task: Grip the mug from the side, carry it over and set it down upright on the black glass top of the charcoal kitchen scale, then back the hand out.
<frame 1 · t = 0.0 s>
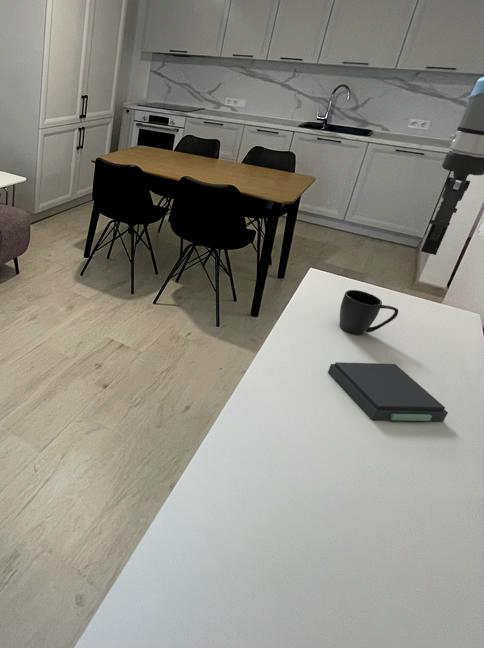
hand: (431, 245, 114), 27 cm above the counter, tool pointing down, fingers open, 13 cm apart
mug: (359, 332, 129), on the counter
scale: (382, 395, 105), on the counter
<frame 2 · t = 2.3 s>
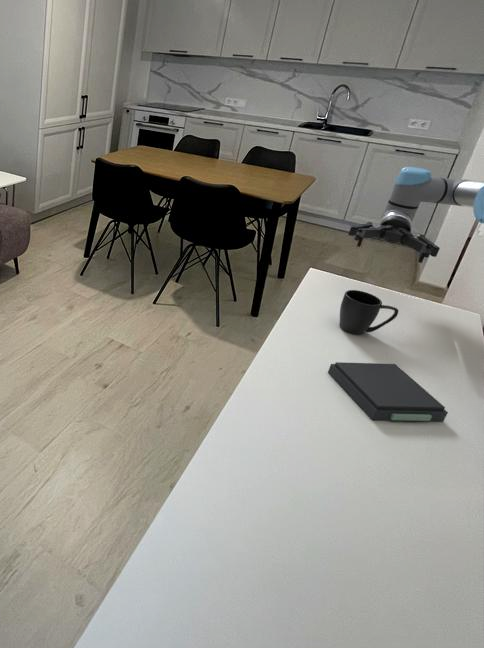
hand: (390, 249, 128), 21 cm above the counter, tool horizontal, fingers open, 13 cm apart
nothing on the counter moved.
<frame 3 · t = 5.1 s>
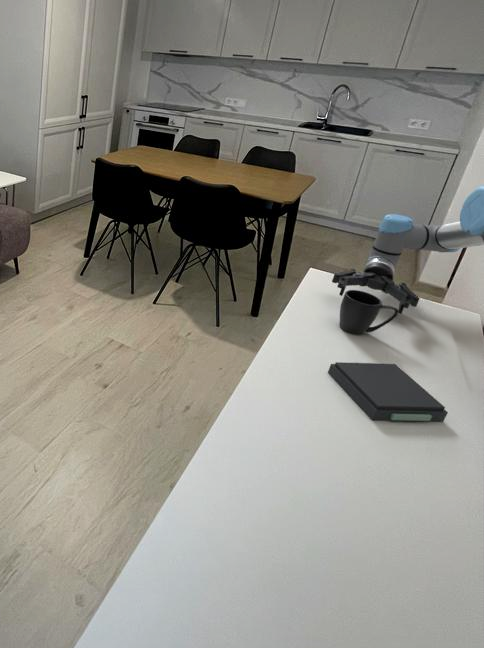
hand: (371, 299, 131), 7 cm above the counter, tool horizontal, fingers open, 13 cm apart
nothing on the counter moved.
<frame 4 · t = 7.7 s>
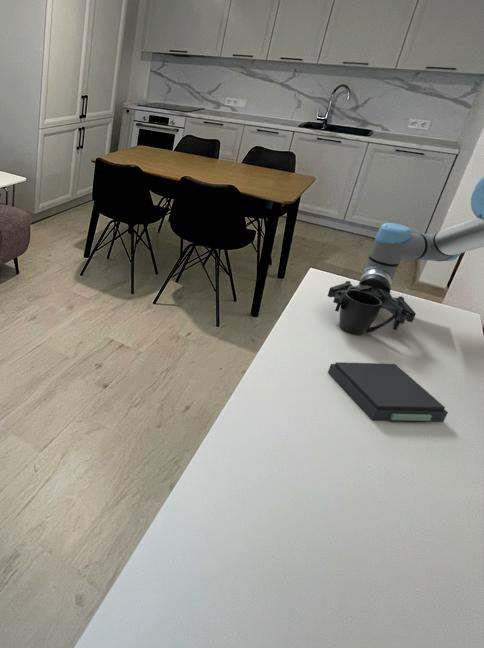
hand: (366, 315, 124), 6 cm above the counter, tool horizontal, fingers closed on mug, 12 cm apart
mug: (359, 332, 129), on the counter, touching gripper
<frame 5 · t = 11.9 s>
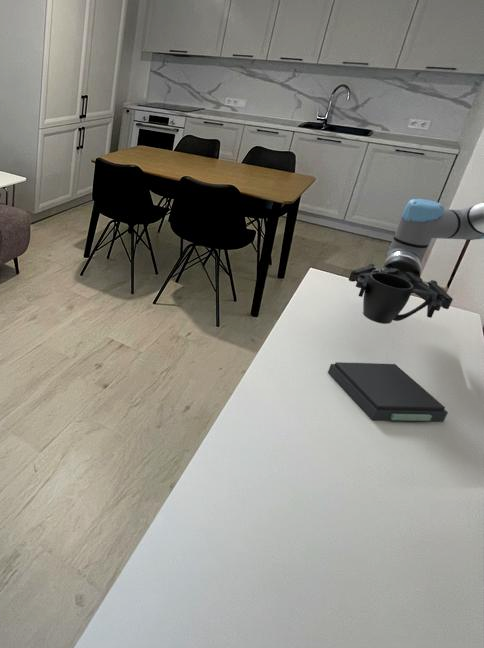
hand: (395, 301, 107), 18 cm above the counter, tool horizontal, fingers closed on mug, 12 cm apart
mug: (386, 320, 112), point 11 cm above the counter, touching gripper
when the fingers open (10 cm above the counter, at t = 16.6 s): mug stays where it is, resting on scale.
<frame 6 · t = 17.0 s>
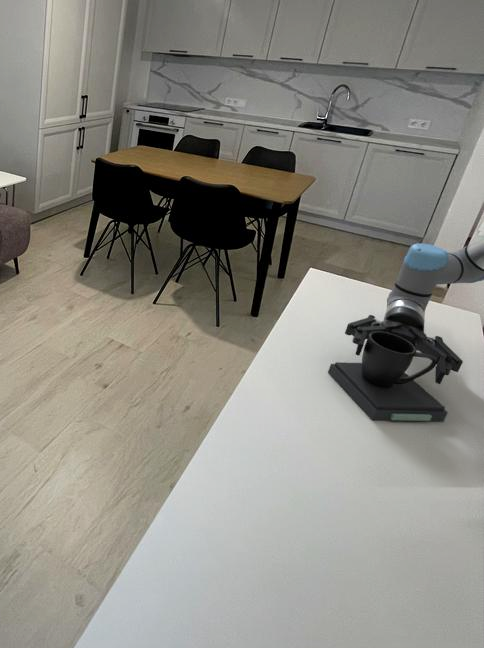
hand: (398, 363, 99), 10 cm above the counter, tool horizontal, fingers open, 13 cm apart
mug: (386, 383, 104), point 3 cm above the counter, touching scale
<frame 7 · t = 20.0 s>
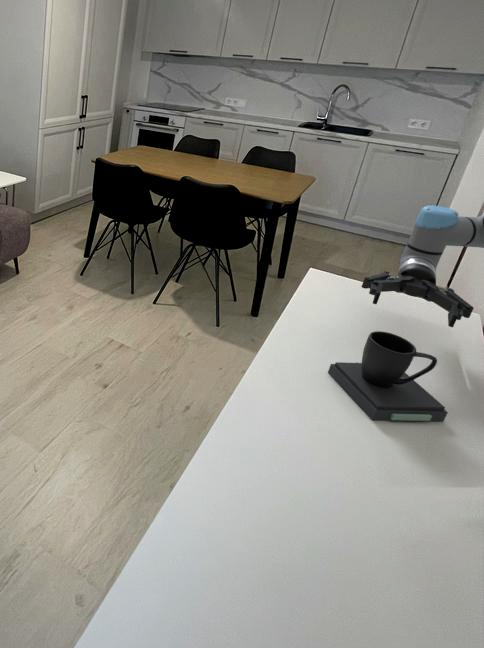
hand: (413, 309, 106), 17 cm above the counter, tool horizontal, fingers open, 13 cm apart
nothing on the counter moved.
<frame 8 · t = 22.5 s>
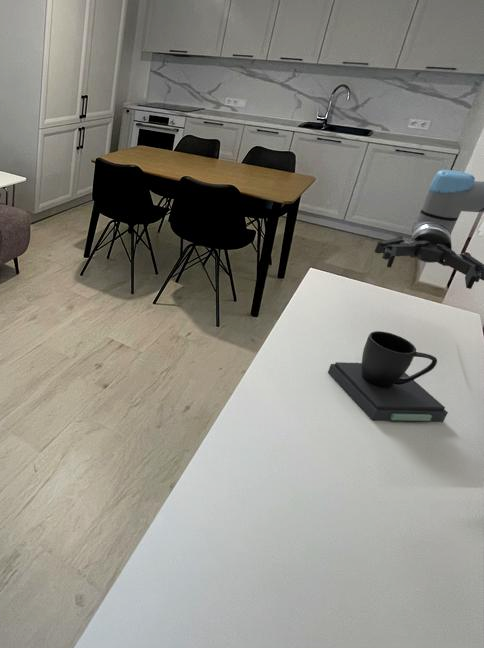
hand: (429, 271, 102), 26 cm above the counter, tool horizontal, fingers open, 13 cm apart
nothing on the counter moved.
at the end: mug inside the target area on the scale (0.1 cm from its centre), point 3.0 cm above the scale's base; mug tilted 0°; the gripper is holding nothing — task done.
